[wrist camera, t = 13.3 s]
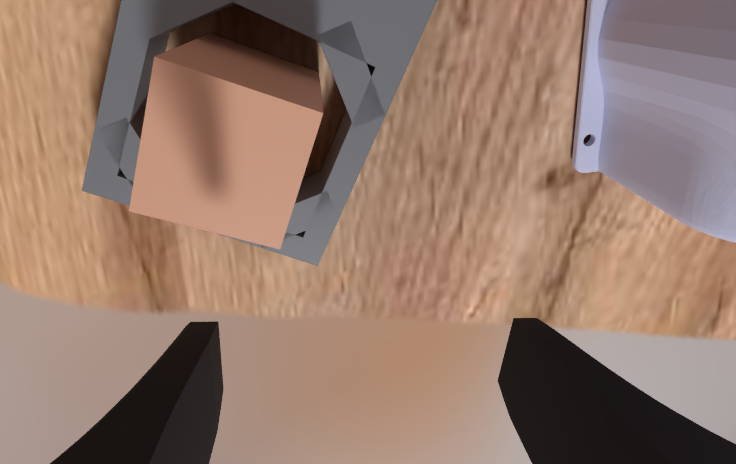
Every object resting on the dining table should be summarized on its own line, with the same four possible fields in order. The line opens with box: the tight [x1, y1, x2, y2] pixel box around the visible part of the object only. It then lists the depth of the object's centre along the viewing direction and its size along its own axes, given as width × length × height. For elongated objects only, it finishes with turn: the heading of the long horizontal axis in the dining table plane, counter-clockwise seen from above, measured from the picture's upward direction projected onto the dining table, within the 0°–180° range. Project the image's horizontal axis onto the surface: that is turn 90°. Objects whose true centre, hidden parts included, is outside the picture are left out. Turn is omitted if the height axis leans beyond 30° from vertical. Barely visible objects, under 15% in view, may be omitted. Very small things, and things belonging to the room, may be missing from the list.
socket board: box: [82, 0, 437, 266], centre depth 16 cm, size 16×9×2 cm, turn 156°
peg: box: [129, 34, 323, 249], centre depth 16 cm, size 4×4×7 cm
